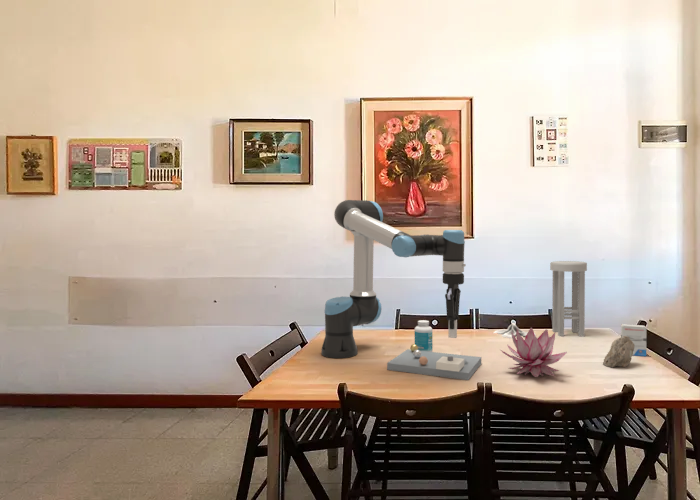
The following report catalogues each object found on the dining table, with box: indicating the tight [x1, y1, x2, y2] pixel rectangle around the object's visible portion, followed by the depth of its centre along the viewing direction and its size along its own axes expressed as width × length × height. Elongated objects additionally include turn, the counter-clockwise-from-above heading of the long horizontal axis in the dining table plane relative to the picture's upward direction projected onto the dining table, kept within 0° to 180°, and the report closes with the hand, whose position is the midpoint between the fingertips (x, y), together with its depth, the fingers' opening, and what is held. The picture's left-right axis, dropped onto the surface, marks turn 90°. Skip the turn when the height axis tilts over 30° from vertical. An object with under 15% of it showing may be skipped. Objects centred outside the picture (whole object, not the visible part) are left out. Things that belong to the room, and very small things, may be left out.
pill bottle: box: [414, 319, 433, 352], centre depth 197 cm, size 8×7×14 cm
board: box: [386, 348, 482, 381], centre depth 178 cm, size 30×22×2 cm
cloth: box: [493, 322, 537, 339], centre depth 231 cm, size 22×19×6 cm
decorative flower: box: [500, 327, 568, 378], centre depth 167 cm, size 21×21×15 cm
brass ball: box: [409, 343, 418, 352], centre depth 190 cm, size 3×3×3 cm
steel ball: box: [413, 350, 422, 358], centre depth 181 cm, size 3×3×3 cm
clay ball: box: [419, 356, 428, 365], centre depth 171 cm, size 3×3×3 cm
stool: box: [549, 260, 588, 338], centre depth 228 cm, size 16×16×35 cm
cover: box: [436, 356, 464, 372], centre depth 167 cm, size 8×8×4 cm
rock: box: [602, 336, 635, 368], centre depth 176 cm, size 14×10×8 cm
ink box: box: [620, 323, 648, 357], centre depth 191 cm, size 8×5×12 cm, turn 65°
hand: (452, 337), depth 171 cm, fingers closed
